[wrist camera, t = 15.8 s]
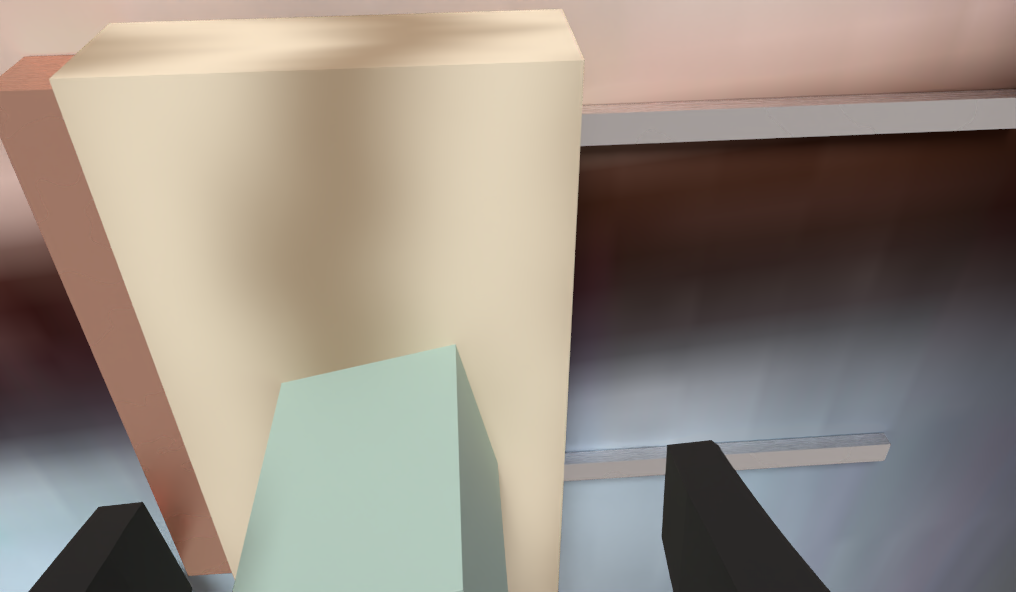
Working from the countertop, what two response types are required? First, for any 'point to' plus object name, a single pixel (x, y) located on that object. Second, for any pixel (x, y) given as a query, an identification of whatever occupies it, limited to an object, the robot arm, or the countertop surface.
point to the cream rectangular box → (344, 225)
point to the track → (114, 324)
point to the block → (377, 485)
